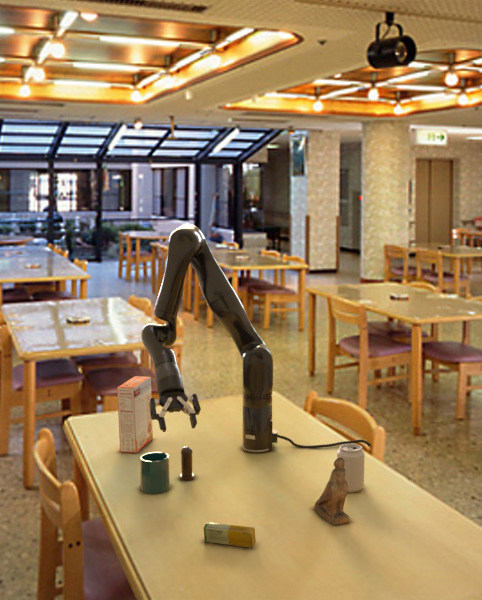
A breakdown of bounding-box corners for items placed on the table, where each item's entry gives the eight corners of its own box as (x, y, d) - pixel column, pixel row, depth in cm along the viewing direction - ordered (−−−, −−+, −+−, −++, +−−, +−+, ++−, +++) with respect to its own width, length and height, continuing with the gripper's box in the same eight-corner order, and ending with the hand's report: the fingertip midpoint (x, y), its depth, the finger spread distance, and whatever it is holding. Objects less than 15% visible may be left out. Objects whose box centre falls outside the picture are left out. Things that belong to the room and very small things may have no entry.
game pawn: (194, 475, 225) (194, 444, 224) (193, 480, 221) (193, 449, 220) (180, 475, 225) (179, 444, 223) (179, 481, 221) (178, 449, 219)
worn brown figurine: (349, 531, 196) (358, 468, 190) (329, 534, 194) (337, 471, 188) (331, 504, 206) (339, 443, 200) (311, 507, 204) (319, 445, 198)
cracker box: (135, 438, 257) (134, 375, 254) (153, 439, 256) (152, 376, 253) (118, 452, 243) (116, 386, 240) (136, 453, 242) (135, 387, 239)
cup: (170, 482, 219) (170, 451, 218) (167, 493, 212) (167, 461, 210) (142, 483, 218) (142, 452, 217) (139, 494, 211) (138, 462, 210)
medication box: (203, 542, 183) (202, 527, 182) (208, 536, 186) (207, 521, 185) (252, 548, 180) (251, 532, 179) (256, 542, 183) (255, 526, 182)
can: (368, 486, 219) (368, 444, 217) (357, 495, 212) (358, 452, 210) (343, 481, 222) (344, 440, 220) (331, 490, 215) (332, 448, 213)
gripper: (146, 376, 230) (156, 425, 221) (194, 372, 236) (206, 419, 228) (143, 389, 235) (152, 438, 227) (190, 385, 242) (201, 432, 233)
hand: (179, 428), depth 227 cm, fingers open, 8 cm apart
